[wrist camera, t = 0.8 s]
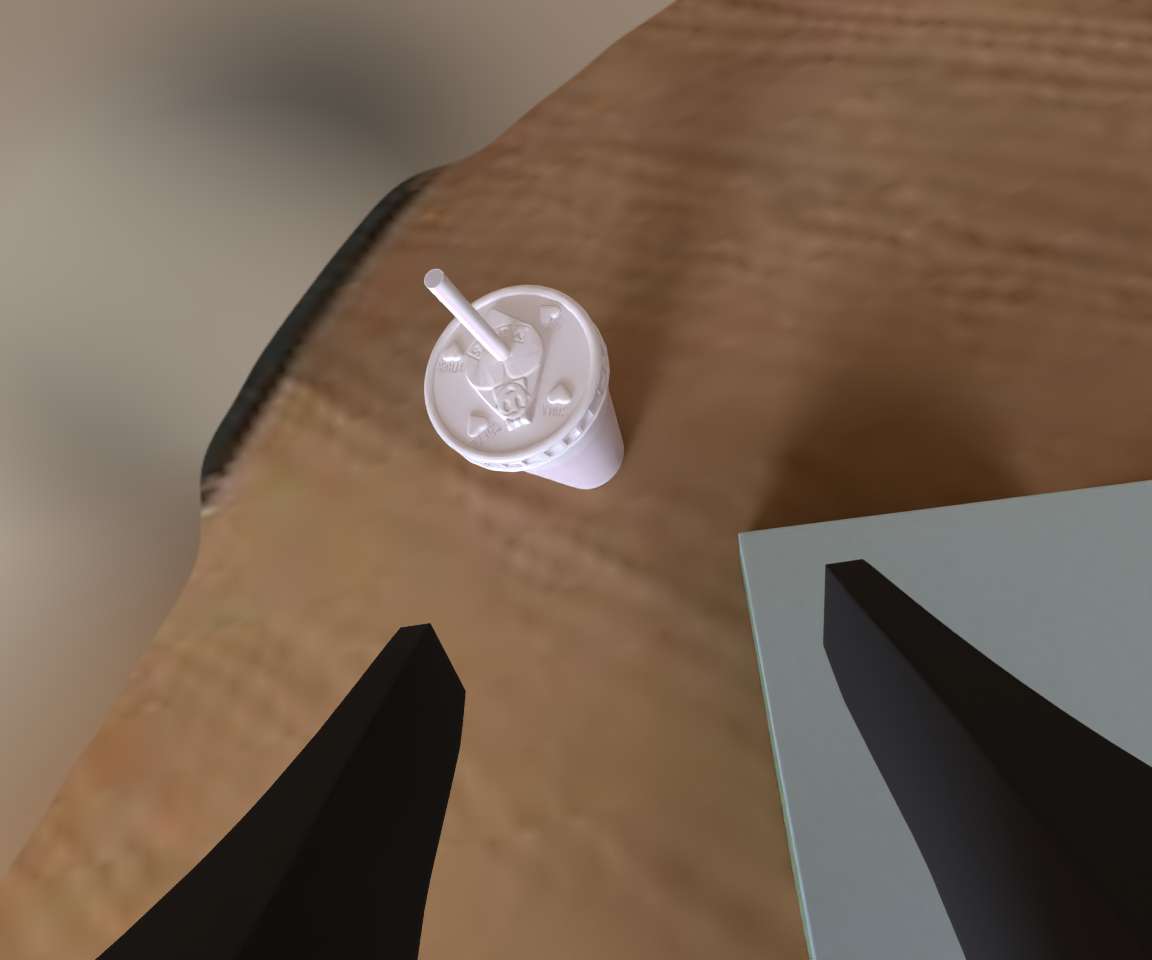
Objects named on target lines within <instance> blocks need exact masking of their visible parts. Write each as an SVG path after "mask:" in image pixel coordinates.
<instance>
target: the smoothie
mask: <svg viewBox="0 0 1152 960" xmlns="http://www.w3.org/2000/svg"><path fill="white" fill-rule="evenodd" d="M424 284H425V286H426V287H427V288H428V289H429V290H430V291H431V292H432V293H433V294H434V295H435V296H436V297H437V298H438V299H439V300H440V301H441V302H442V303H443V304H444V305H445V306H446V307H447V308H448V309H449V311H450V312H451V313H452V314H453V315H454V316H455V318H454V319H453V320H452V321H451V322H450V323H449V325H448V326H447V327H446V328H445V330H444V331H443V333H442V334H441V336H440V337H439V339H438V341H437V343H436V344H435V346H434V349H433V351H432V353H431V356H430V359H429V362H428V365H427V369H426V375H425V385H424V394H425V403H426V408H427V412H428V415H429V418H430V420H431V422H432V424H433V426H434V428H435V430H436V431H437V433H438V434H439V435H440V437H441V438H442V439H443V440H444V441H445V442H446V443H447V444H448V445H449V446H450V447H451V448H453V449H454V450H455V451H457V452H458V453H460V454H461V455H462V456H463V457H465V458H466V459H467V460H468V461H470V462H471V463H474V464H476V465H479V466H482V467H484V468H487V469H489V470H494V471H507V472H517V471H525V472H528V473H531V474H534V475H538V476H541V477H544V478H547V479H550V480H553V481H556V482H559V483H562V484H565V485H569V486H572V487H575V488H579V489H592V488H596V487H599V486H601V485H603V484H605V483H606V482H608V481H609V480H610V479H611V478H613V476H614V475H615V474H616V473H617V471H618V470H619V468H620V466H621V464H622V461H623V457H624V444H623V439H622V436H621V432H620V429H619V425H618V421H617V418H616V414H615V411H614V407H613V403H612V400H611V396H610V393H609V389H608V382H609V375H610V367H609V360H608V353H607V347H606V345H605V343H604V341H603V338H602V336H601V334H600V332H599V330H598V328H597V327H596V325H595V324H594V323H593V322H592V320H591V318H590V317H589V315H588V314H587V313H586V311H585V310H584V309H583V308H582V307H581V306H580V305H579V304H578V303H577V302H576V301H575V300H573V299H572V298H571V297H569V296H567V295H566V294H564V293H562V292H560V291H558V290H555V289H552V288H549V287H544V286H538V285H517V286H511V287H506V288H502V289H499V290H496V291H494V292H491V293H489V294H487V295H485V296H483V297H481V298H479V299H477V300H476V301H474V302H473V303H471V304H470V303H469V302H468V300H467V299H466V298H465V297H464V296H463V295H462V294H461V293H460V291H459V290H458V289H457V288H456V287H455V286H454V285H453V283H452V282H451V281H450V280H449V279H448V278H447V277H446V275H445V274H444V273H443V272H442V271H441V270H440V269H433V270H431V271H429V272H428V273H427V274H426V276H425V278H424Z"/></svg>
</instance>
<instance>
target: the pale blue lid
mask: <svg viewBox="0 0 1152 960" xmlns="http://www.w3.org/2000/svg"><path fill="white" fill-rule="evenodd" d="M738 538H739V545H740V550H741V556H742V561H743V567H744V573H745V578H746V584H747V590H748V595H749V601H750V606H751V612H752V618H753V623H754V629H755V635H756V640H757V646H758V651H759V657H760V663H761V668H762V674H763V680H764V685H765V691H766V696H767V702H768V708H769V713H770V719H771V725H772V730H773V736H774V741H775V747H776V753H777V758H778V764H779V770H780V775H781V781H782V786H783V792H784V798H785V803H786V809H787V815H788V820H789V826H790V831H791V837H792V843H793V848H794V854H795V860H796V865H797V871H798V876H799V882H800V888H801V893H802V899H803V905H804V910H805V916H806V921H807V927H808V933H809V938H810V944H811V950H812V955H813V960H966V958H965V956H964V953H963V951H962V948H961V946H960V943H959V941H958V939H957V936H956V934H955V931H954V929H953V927H952V924H951V922H950V919H949V917H948V914H947V912H946V910H945V907H944V905H943V902H942V900H941V897H940V895H939V893H938V890H937V888H936V885H935V883H934V881H933V878H932V876H931V873H930V871H929V869H928V867H927V865H926V863H925V860H924V858H923V856H922V854H921V852H920V850H919V848H918V846H917V843H916V841H915V839H914V837H913V835H912V833H911V831H910V829H909V827H908V825H907V823H906V822H905V820H904V818H903V816H902V814H901V812H900V810H899V808H898V806H897V804H896V802H895V800H894V798H893V796H892V794H891V792H890V790H889V788H888V786H887V784H886V783H885V781H884V779H883V777H882V775H881V773H880V771H879V769H878V767H877V765H876V763H875V761H874V759H873V757H872V755H871V753H870V751H869V749H868V747H867V746H866V744H865V742H864V740H863V738H862V736H861V734H860V732H859V730H858V728H857V726H856V724H855V722H854V720H853V718H852V716H851V714H850V712H849V710H848V708H847V706H846V704H845V702H844V699H843V697H842V694H841V692H840V689H839V686H838V684H837V681H836V679H835V676H834V674H833V671H832V668H831V665H830V663H829V660H828V657H827V654H826V652H825V649H824V646H823V628H824V594H825V564H832V563H838V562H845V561H852V560H858V559H864V560H865V561H866V562H868V563H869V564H870V565H872V566H873V567H874V568H875V569H877V570H878V571H879V572H880V573H881V574H883V575H884V576H885V577H886V578H887V579H889V580H890V581H891V582H892V583H894V584H895V585H896V586H897V587H898V588H900V589H901V590H902V591H903V592H905V593H906V594H907V595H908V596H909V597H911V598H912V599H913V600H914V601H916V602H917V603H918V604H919V605H921V606H922V607H923V608H924V609H926V610H927V611H928V612H929V613H931V614H932V615H933V616H934V617H936V618H937V619H938V620H939V621H941V622H942V623H943V624H945V625H946V626H947V627H948V628H950V629H951V630H952V631H954V632H955V633H956V634H958V635H959V636H960V637H962V638H963V639H964V640H966V641H967V642H968V643H970V644H971V645H972V646H974V647H975V648H976V649H978V650H979V651H980V652H982V653H983V654H984V655H986V656H987V657H988V658H990V659H991V660H992V661H993V662H995V663H996V664H998V665H999V666H1000V667H1002V668H1003V669H1005V670H1006V671H1007V672H1009V673H1010V674H1011V675H1013V676H1014V677H1016V678H1017V679H1018V680H1020V681H1021V682H1023V683H1024V684H1025V685H1027V686H1028V687H1030V688H1031V689H1033V690H1034V691H1036V692H1037V693H1039V694H1040V695H1041V696H1043V697H1044V698H1046V699H1047V700H1049V701H1050V702H1052V703H1053V704H1054V705H1056V706H1057V707H1059V708H1060V709H1062V710H1063V711H1065V712H1066V713H1068V714H1069V715H1071V716H1072V717H1074V718H1075V719H1077V720H1078V721H1080V722H1081V723H1083V724H1084V725H1086V726H1087V727H1089V728H1090V729H1092V730H1093V731H1095V732H1097V733H1098V734H1100V735H1101V736H1103V737H1104V738H1106V739H1107V740H1109V741H1110V742H1112V743H1114V744H1115V745H1117V746H1119V747H1120V748H1122V749H1123V750H1125V751H1127V752H1128V753H1130V754H1131V755H1133V756H1135V757H1136V758H1138V759H1140V760H1141V761H1143V762H1144V763H1146V764H1148V765H1149V766H1151V767H1152V480H1147V481H1139V482H1131V483H1123V484H1115V485H1108V486H1100V487H1092V488H1084V489H1076V490H1069V491H1061V492H1053V493H1045V494H1037V495H1030V496H1022V497H1014V498H1006V499H998V500H991V501H983V502H975V503H967V504H959V505H952V506H944V507H936V508H928V509H921V510H913V511H905V512H897V513H889V514H882V515H874V516H866V517H858V518H850V519H843V520H835V521H827V522H819V523H811V524H804V525H796V526H788V527H780V528H772V529H765V530H757V531H749V532H741V533H739V534H738Z"/></svg>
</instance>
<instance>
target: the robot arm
mask: <svg viewBox="0 0 1152 960" xmlns="http://www.w3.org/2000/svg"><path fill="white" fill-rule="evenodd" d="M823 646H824V649H825V652H826V654H827V657H828V660H829V663H830V665H831V668H832V671H833V674H834V676H835V679H836V681H837V684H838V686H839V689H840V692H841V694H842V697H843V699H844V702H845V704H846V706H847V708H848V710H849V712H850V714H851V716H852V718H853V720H854V722H855V724H856V726H857V728H858V730H859V732H860V734H861V736H862V738H863V740H864V742H865V744H866V746H867V747H868V749H869V751H870V753H871V755H872V757H873V759H874V761H875V763H876V765H877V767H878V769H879V771H880V773H881V775H882V777H883V779H884V781H885V783H886V784H887V786H888V788H889V790H890V792H891V794H892V796H893V798H894V800H895V802H896V804H897V806H898V808H899V810H900V812H901V814H902V816H903V818H904V820H905V822H906V823H907V825H908V827H909V829H910V831H911V833H912V835H913V837H914V839H915V841H916V843H917V846H918V848H919V850H920V852H921V854H922V856H923V858H924V860H925V863H926V865H927V867H928V869H929V871H930V873H931V876H932V878H933V881H934V883H935V885H936V888H937V890H938V893H939V895H940V897H941V900H942V902H943V905H944V907H945V910H946V912H947V914H948V917H949V919H950V922H951V924H952V927H953V929H954V931H955V934H956V936H957V939H958V941H959V943H960V946H961V948H962V951H963V953H964V956H965V958H966V960H1152V767H1151V766H1149V765H1148V764H1146V763H1144V762H1143V761H1141V760H1140V759H1138V758H1136V757H1135V756H1133V755H1131V754H1130V753H1128V752H1127V751H1125V750H1123V749H1122V748H1120V747H1119V746H1117V745H1115V744H1114V743H1112V742H1110V741H1109V740H1107V739H1106V738H1104V737H1103V736H1101V735H1100V734H1098V733H1097V732H1095V731H1093V730H1092V729H1090V728H1089V727H1087V726H1086V725H1084V724H1083V723H1081V722H1080V721H1078V720H1077V719H1075V718H1074V717H1072V716H1071V715H1069V714H1068V713H1066V712H1065V711H1063V710H1062V709H1060V708H1059V707H1057V706H1056V705H1054V704H1053V703H1052V702H1050V701H1049V700H1047V699H1046V698H1044V697H1043V696H1041V695H1040V694H1039V693H1037V692H1036V691H1034V690H1033V689H1031V688H1030V687H1028V686H1027V685H1025V684H1024V683H1023V682H1021V681H1020V680H1018V679H1017V678H1016V677H1014V676H1013V675H1011V674H1010V673H1009V672H1007V671H1006V670H1005V669H1003V668H1002V667H1000V666H999V665H998V664H996V663H995V662H993V661H992V660H991V659H990V658H988V657H987V656H986V655H984V654H983V653H982V652H980V651H979V650H978V649H976V648H975V647H974V646H972V645H971V644H970V643H968V642H967V641H966V640H964V639H963V638H962V637H960V636H959V635H958V634H956V633H955V632H954V631H952V630H951V629H950V628H948V627H947V626H946V625H945V624H943V623H942V622H941V621H939V620H938V619H937V618H936V617H934V616H933V615H932V614H931V613H929V612H928V611H927V610H926V609H924V608H923V607H922V606H921V605H919V604H918V603H917V602H916V601H914V600H913V599H912V598H911V597H909V596H908V595H907V594H906V593H905V592H903V591H902V590H901V589H900V588H898V587H897V586H896V585H895V584H894V583H892V582H891V581H890V580H889V579H887V578H886V577H885V576H884V575H883V574H881V573H880V572H879V571H878V570H877V569H875V568H874V567H873V566H872V565H870V564H869V563H868V562H866V561H865V560H864V559H858V560H852V561H845V562H838V563H832V564H825V594H824V628H823ZM465 693H466V691H465V689H464V687H463V685H462V683H461V681H460V679H459V677H458V675H457V674H456V672H455V670H454V668H453V666H452V664H451V662H450V660H449V658H448V656H447V654H446V652H445V650H444V648H443V647H442V645H441V643H440V641H439V639H438V637H437V635H436V633H435V631H434V629H433V627H432V625H431V623H428V624H422V625H415V626H408V627H402V628H400V629H399V630H398V631H397V633H396V634H395V635H394V636H393V637H392V639H391V640H390V641H389V642H388V644H387V645H386V646H385V647H384V649H383V650H382V651H381V652H380V654H379V655H378V656H377V658H376V659H375V660H374V661H373V663H372V664H371V665H370V667H369V668H368V669H367V670H366V672H365V673H364V674H363V676H362V677H361V678H360V679H359V681H358V682H357V683H356V685H355V686H354V687H353V688H352V690H351V691H350V692H349V693H348V695H347V696H346V697H345V699H344V700H343V701H342V702H341V704H340V705H339V706H338V707H337V709H336V710H335V711H334V712H333V714H332V715H331V716H330V717H329V719H328V720H327V721H326V722H325V724H324V725H323V726H322V727H321V729H320V730H319V731H318V732H317V734H316V735H315V736H314V737H313V738H312V739H311V741H310V742H309V743H308V744H307V745H306V746H305V748H304V749H303V750H302V751H301V752H300V753H299V755H298V756H297V757H296V758H295V759H294V760H293V762H292V763H291V764H290V765H289V766H288V767H287V769H286V770H285V771H284V772H283V773H282V774H281V776H280V777H279V778H278V779H277V780H276V781H275V783H274V784H273V785H272V786H271V787H270V788H269V790H268V791H267V792H266V793H265V794H264V795H263V796H262V797H261V799H260V800H259V801H258V802H257V803H256V804H255V805H254V806H253V807H252V808H251V809H250V810H249V812H248V813H247V814H246V815H245V816H244V817H243V818H242V819H241V820H240V821H239V822H238V823H237V824H236V825H235V826H234V827H233V829H232V830H231V831H230V832H229V833H228V834H227V835H226V836H225V837H224V838H223V839H222V840H221V841H220V842H219V843H218V844H217V845H216V846H215V847H214V848H213V849H212V850H211V851H210V852H209V853H208V854H207V855H206V856H205V857H204V858H203V859H202V860H201V861H200V862H199V863H198V864H197V865H196V866H195V867H194V868H193V869H192V870H191V871H190V872H189V873H188V874H187V875H186V876H185V877H184V878H183V879H182V880H181V881H180V882H179V883H177V884H176V885H175V886H174V887H173V888H172V889H171V890H170V891H169V892H168V893H167V894H166V895H165V896H164V897H163V898H162V899H161V900H159V901H158V902H157V903H156V904H155V905H154V906H153V907H152V908H151V909H150V910H149V911H148V912H147V913H146V914H145V915H144V916H143V917H141V918H140V919H139V920H138V921H137V922H136V923H135V924H134V925H133V926H132V927H131V928H130V929H129V930H128V931H127V932H126V933H125V934H123V935H122V936H121V937H120V938H119V939H118V940H117V941H116V942H115V943H113V944H112V945H111V946H110V947H109V948H108V949H107V950H106V951H104V952H103V953H102V954H101V955H100V956H99V957H98V958H96V959H95V960H417V959H418V952H419V945H420V938H421V931H422V923H423V916H424V909H425V904H426V899H427V894H428V888H429V883H430V878H431V874H432V869H433V865H434V860H435V856H436V852H437V847H438V843H439V839H440V834H441V830H442V825H443V821H444V817H445V812H446V808H447V804H448V799H449V795H450V790H451V786H452V781H453V777H454V772H455V768H456V763H457V759H458V754H459V749H460V743H461V734H462V726H463V716H464V705H465Z"/></svg>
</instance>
